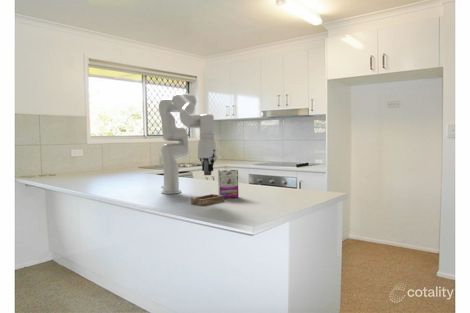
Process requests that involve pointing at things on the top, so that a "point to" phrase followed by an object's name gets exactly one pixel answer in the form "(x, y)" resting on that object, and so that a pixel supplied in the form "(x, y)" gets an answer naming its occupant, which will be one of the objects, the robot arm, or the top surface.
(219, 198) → the tray
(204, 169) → the battery cell
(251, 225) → the top surface
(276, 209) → the top surface
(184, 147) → the robot arm
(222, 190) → the candy bar box
